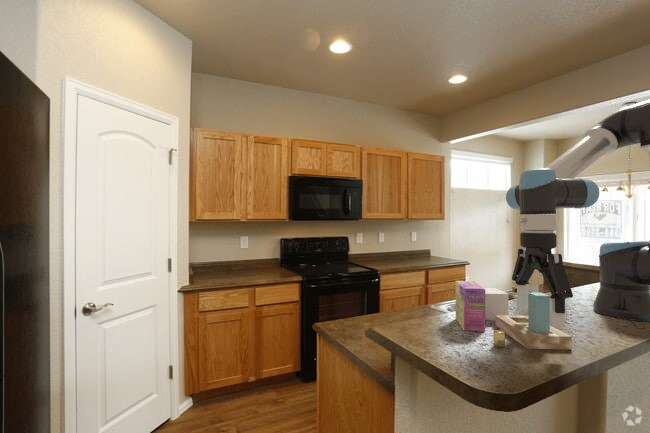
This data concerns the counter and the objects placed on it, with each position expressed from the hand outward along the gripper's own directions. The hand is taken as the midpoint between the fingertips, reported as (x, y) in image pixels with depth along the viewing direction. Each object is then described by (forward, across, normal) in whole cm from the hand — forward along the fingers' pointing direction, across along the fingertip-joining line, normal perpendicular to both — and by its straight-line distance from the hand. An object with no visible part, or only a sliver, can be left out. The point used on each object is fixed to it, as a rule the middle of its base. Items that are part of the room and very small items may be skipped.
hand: (538, 317), depth 78 cm
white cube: (+6, -21, -3) cm, 22 cm away
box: (+7, -12, -12) cm, 19 cm away
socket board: (+6, -4, 0) cm, 7 cm away
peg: (+6, 0, 0) cm, 6 cm away
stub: (+6, +3, -11) cm, 13 cm away
